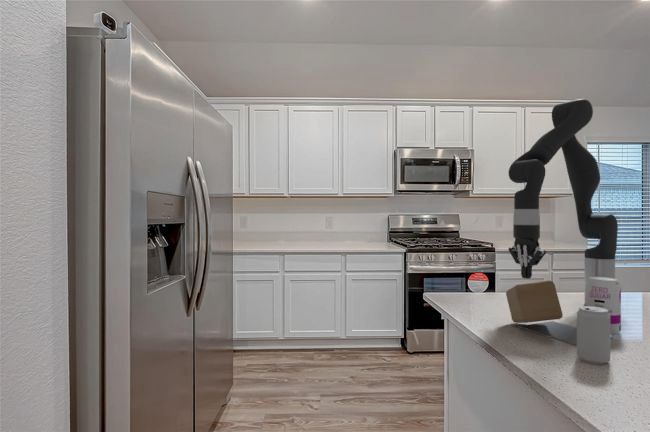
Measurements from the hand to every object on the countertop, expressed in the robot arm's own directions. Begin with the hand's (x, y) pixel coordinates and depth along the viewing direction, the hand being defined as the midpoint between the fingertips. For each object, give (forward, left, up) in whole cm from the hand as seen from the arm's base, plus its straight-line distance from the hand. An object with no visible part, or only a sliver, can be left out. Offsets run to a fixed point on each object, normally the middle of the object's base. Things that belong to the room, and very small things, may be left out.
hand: (526, 278), depth 128 cm
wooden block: (+3, +2, -8) cm, 9 cm away
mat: (+2, +14, -13) cm, 20 cm away
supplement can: (-10, +17, -13) cm, 24 cm away
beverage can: (+15, +32, -13) cm, 38 cm away
